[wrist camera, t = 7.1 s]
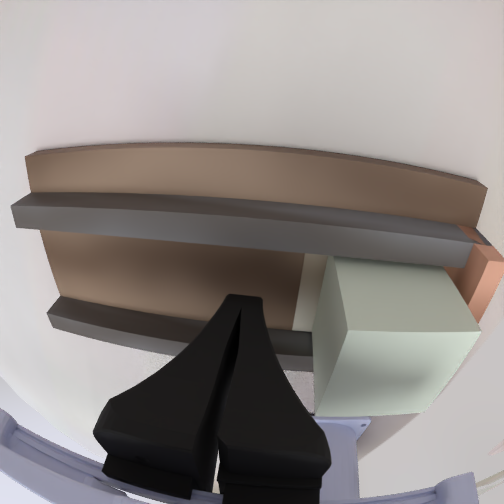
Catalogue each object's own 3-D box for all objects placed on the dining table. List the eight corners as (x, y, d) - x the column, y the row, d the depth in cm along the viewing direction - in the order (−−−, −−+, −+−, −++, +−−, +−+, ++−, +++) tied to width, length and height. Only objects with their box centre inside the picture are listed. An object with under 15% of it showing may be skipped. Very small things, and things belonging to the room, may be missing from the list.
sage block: (401, 334, 15) (424, 412, 10) (311, 330, 15) (314, 416, 11) (434, 254, 12) (481, 331, 8) (330, 243, 13) (347, 330, 8)
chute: (405, 359, 17) (419, 409, 14) (81, 322, 19) (54, 363, 16) (477, 180, 11) (525, 216, 8) (36, 151, 13) (-16, 177, 9)
